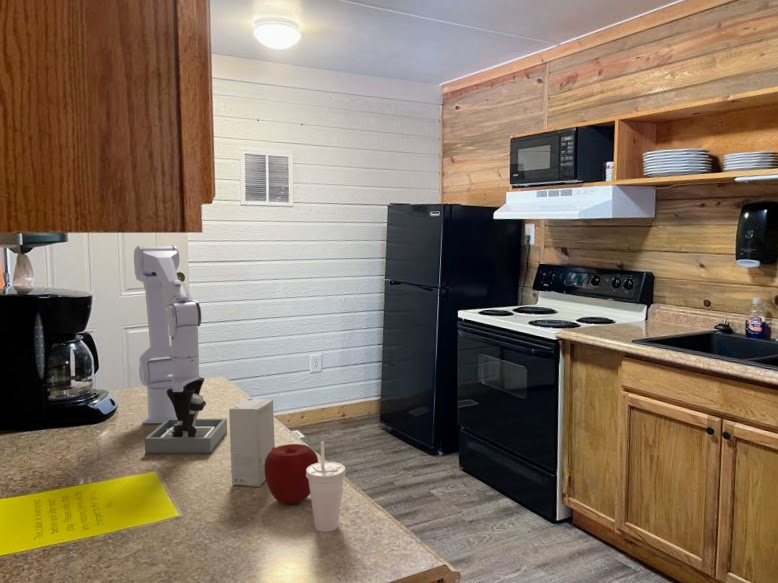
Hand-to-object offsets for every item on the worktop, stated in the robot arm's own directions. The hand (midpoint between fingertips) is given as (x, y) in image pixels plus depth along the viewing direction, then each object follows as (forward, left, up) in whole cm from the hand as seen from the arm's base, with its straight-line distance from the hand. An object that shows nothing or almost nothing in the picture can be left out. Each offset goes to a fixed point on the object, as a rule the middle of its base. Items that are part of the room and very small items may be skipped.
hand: (187, 415), depth 139 cm
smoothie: (+40, +35, -7) cm, 54 cm away
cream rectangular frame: (0, 0, -6) cm, 6 cm away
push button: (0, -2, -5) cm, 5 cm away
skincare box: (+20, +19, -7) cm, 28 cm away
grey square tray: (0, 0, -6) cm, 6 cm away
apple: (+30, +28, -7) cm, 42 cm away
